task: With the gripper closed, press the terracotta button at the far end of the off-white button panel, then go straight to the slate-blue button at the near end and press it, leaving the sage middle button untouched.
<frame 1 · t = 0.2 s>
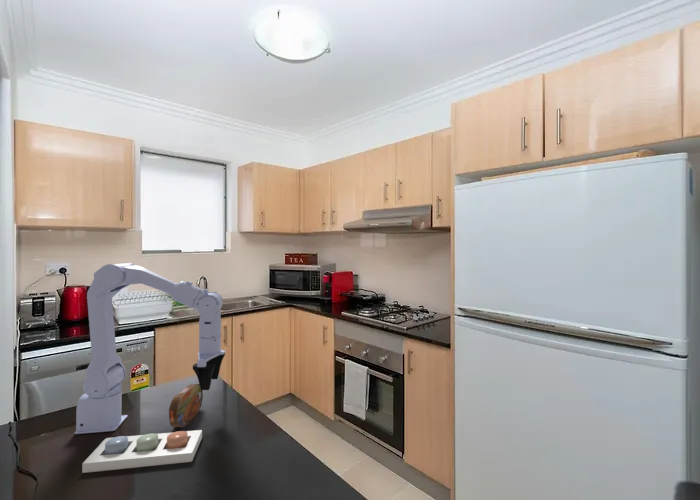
hand: (209, 384, 97), 10 cm above the countertop, tool pointing down, fingers open, 7 cm apart
slate button: (116, 446, 80), point 2 cm above the countertop, slide at 0.0 cm
button panel: (147, 453, 81), on the countertop
tin: (186, 419, 98), on the countertop
terracotta button: (177, 440, 82), point 2 cm above the countertop, slide at 0.0 cm
sage button: (147, 443, 81), point 2 cm above the countertop, slide at 0.0 cm
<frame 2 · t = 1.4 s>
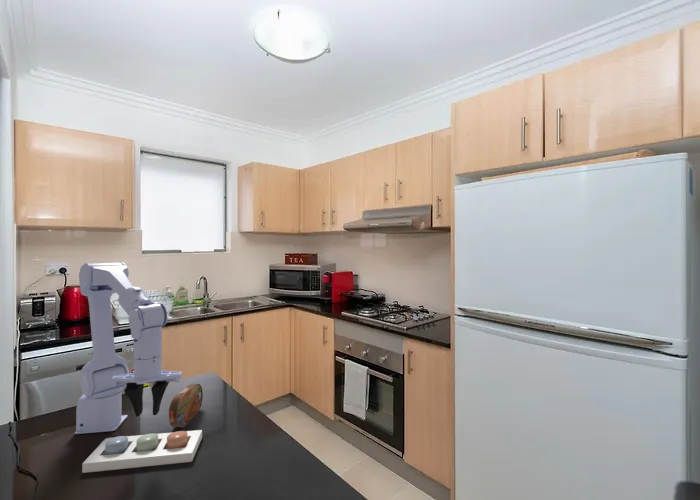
hand: (147, 413, 81), 9 cm above the countertop, tool pointing down, fingers open, 3 cm apart
nothing on the countertop moved.
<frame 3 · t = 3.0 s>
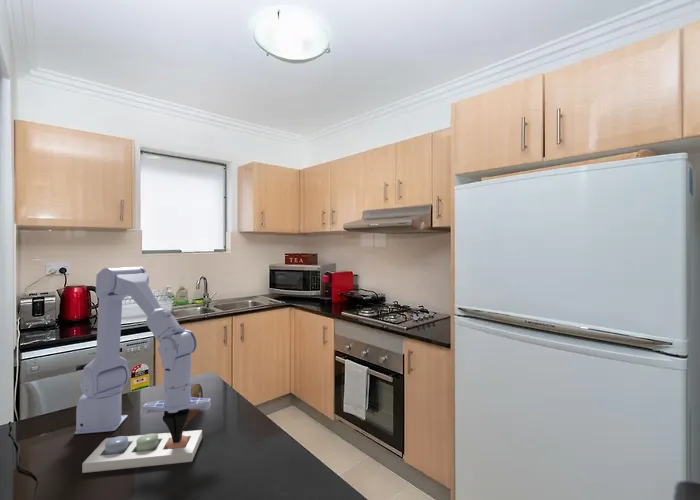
hand: (177, 440, 82), 2 cm above the countertop, tool pointing down, fingers closed, pressing on terracotta button
terracotta button: (177, 445, 82), point 1 cm above the countertop, slide at 1.1 cm, touching gripper
everything else where it was.
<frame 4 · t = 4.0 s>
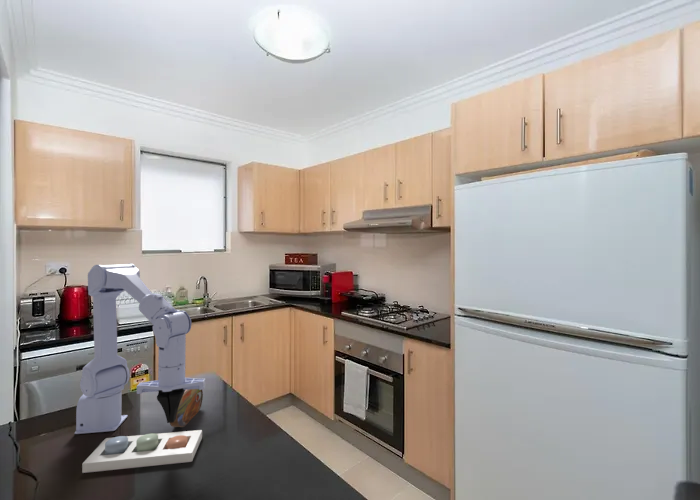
hand: (171, 420, 82), 7 cm above the countertop, tool pointing down, fingers closed
terracotta button: (177, 445, 82), point 1 cm above the countertop, slide at 1.1 cm
everything else where it was.
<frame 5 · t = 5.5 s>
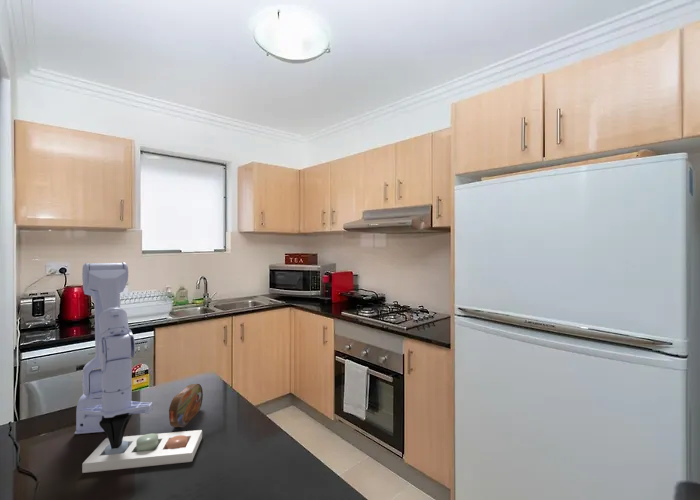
hand: (116, 446, 80), 2 cm above the countertop, tool pointing down, fingers closed, pressing on slate button
slate button: (116, 451, 80), point 1 cm above the countertop, slide at 1.1 cm, touching gripper
everything else where it was.
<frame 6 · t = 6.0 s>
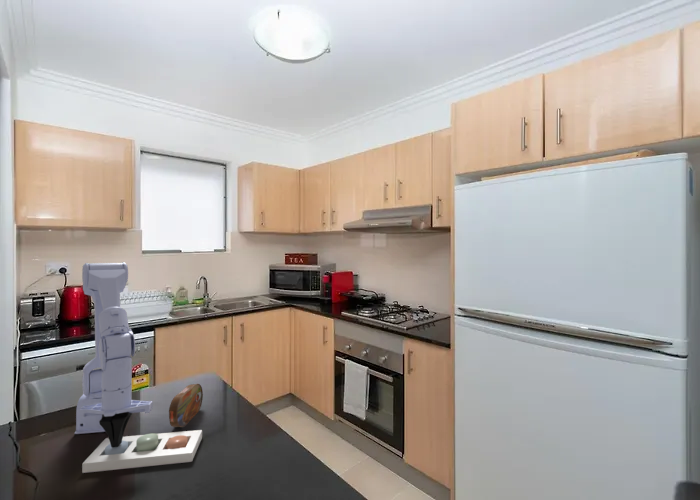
hand: (116, 444, 80), 3 cm above the countertop, tool pointing down, fingers closed
slate button: (116, 451, 80), point 1 cm above the countertop, slide at 1.1 cm
everything else where it was.
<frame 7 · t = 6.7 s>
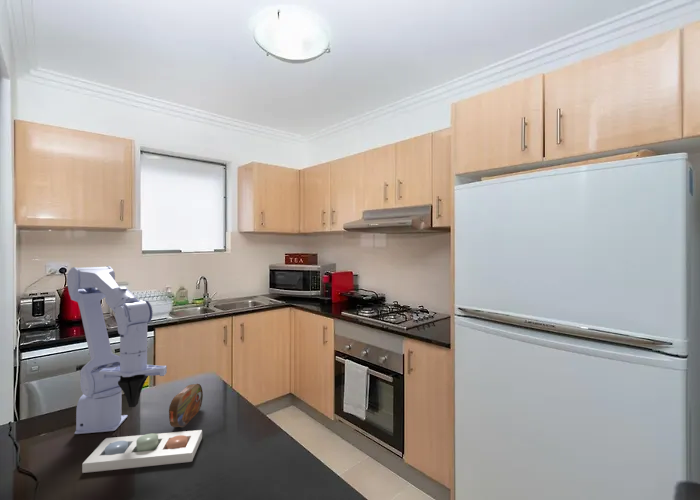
hand: (133, 405, 85), 9 cm above the countertop, tool pointing down, fingers closed
nothing on the countertop moved.
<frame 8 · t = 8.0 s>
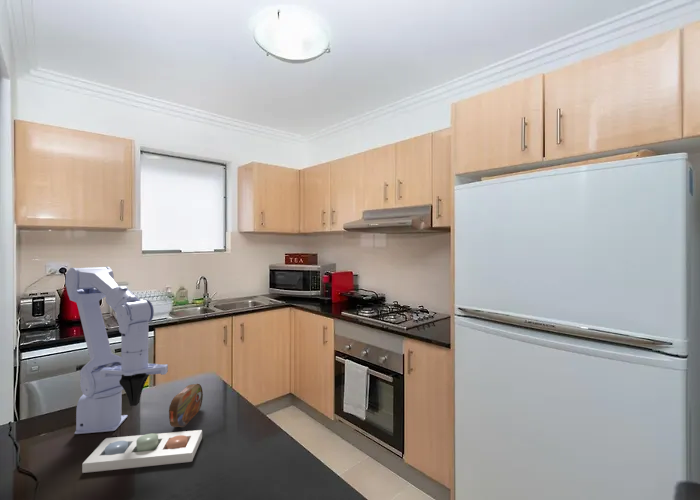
hand: (134, 404, 86), 9 cm above the countertop, tool pointing down, fingers closed
nothing on the countertop moved.
at the end: terracotta button slide at 1.1 cm; slate button slide at 1.1 cm; sage button slide at 0.0 cm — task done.
